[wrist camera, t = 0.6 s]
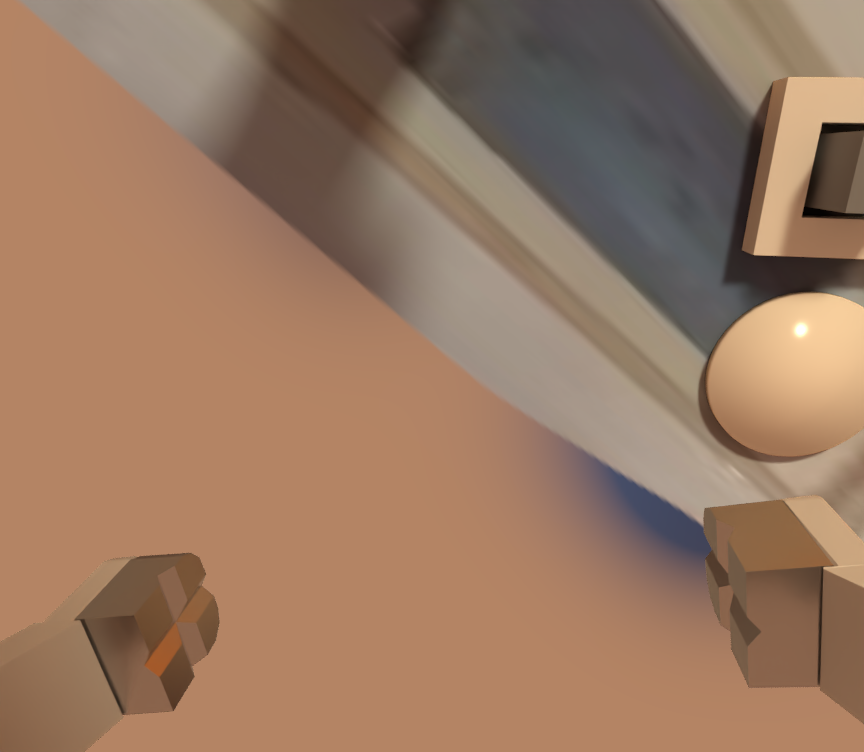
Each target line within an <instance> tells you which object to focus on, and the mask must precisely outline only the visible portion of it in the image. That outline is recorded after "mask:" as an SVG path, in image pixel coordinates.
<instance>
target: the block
mask: <svg viewBox="0 0 864 752" xmlns="http://www.w3.org/2000/svg"><path fill="white" fill-rule="evenodd" d="M804 206H805V207H811V208H817V209H824V210H830V211H836V212H842V213H860V214H864V131H854V132H841V133H828V134H820V135H819V140H818V144H817V149H816V153H815V158H814V162H813V167H812V172H811V176H810V181H809V185H808V190H807V195H806V199H805V204H804Z"/></svg>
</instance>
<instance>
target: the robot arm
mask: <svg viewBox="0 0 864 752" xmlns="http://www.w3.org/2000/svg"><path fill="white" fill-rule="evenodd" d="M703 519H704V534H705V536H706V538H707V540H708V542H709V544H710V546H711V548H712V551H711V552H710V553H709V555H708V556H707V557H706V559H705V562H706V575H707V582H708V588H709V593H710V598H711V601H712V604H713V607H714V611H715V613H716V615H717V618H718V620H719V623H720V625H721V626H723V627H724V628H726V629H727V630H729V631H730V632H731V650H732V652H733V654H734V656H735V658H736V660H737V663H738V665H739V667H740V669H741V671H742V674H743V675H744V678H745V680H746V682H747V685H748V687H749V688H766V687H820V690H821V691H822V692H823V693H825V694H826V695H827V696H829V697H830V698H831V699H832V700H834V701H835V702H836V703H838V704H839V705H840V706H841V707H843V708H844V709H845V710H846V711H848V712H849V713H850V714H852V715H853V716H854V717H855V718H857V719H858V720H859V721H861V722H862V723H863V724H864V542H863V541H862V540H861V539H860V538H859V537H858V536H857V535H856V534H855V533H854V531H853V530H852V529H851V528H850V527H849V526H848V525H847V524H846V523H845V522H844V521H843V520H842V518H841V517H840V516H839V515H838V514H837V513H836V512H835V511H834V510H833V509H832V508H831V507H830V506H829V504H828V503H827V502H826V501H825V500H824V499H823V498H822V497H819V496H817V495H811V496H803V497H795V498H787V499H779V500H773V501H764V502H755V503H746V504H737V505H728V506H719V507H710V508H705V510H704V518H703ZM205 575H206V573H205V570H204V568H203V565H202V563H201V560H200V558H199V557H198V556H196V555H194V554H192V553H182V554H167V555H152V556H140V557H135V556H134V557H126V558H125V557H124V558H116V559H111V560H108V561H105V562H103V563H102V564H101V565H100V566H99V567H98V568H97V569H96V570H95V571H94V572H93V573H92V574H91V575H90V577H88V578H87V579H86V580H85V581H84V582H83V583H82V584H81V585H80V586H79V587H78V588H77V589H76V590H75V591H74V592H73V593H72V594H71V595H70V596H69V597H68V598H67V599H66V600H65V601H64V602H63V603H62V604H61V605H60V606H59V607H58V608H57V609H56V610H55V611H54V612H53V613H52V614H51V615H50V616H49V617H48V618H47V619H46V620H45V621H44V622H43V623H34V624H32V625H30V626H29V627H27V628H25V629H23V630H21V631H19V632H17V633H16V634H14V635H12V636H10V637H8V638H6V639H5V640H3V641H1V642H0V752H85V751H86V750H87V749H88V748H89V747H91V746H92V745H93V744H94V743H95V742H96V741H97V740H99V739H100V738H101V737H102V736H103V735H104V734H105V733H107V732H108V731H109V730H110V729H111V728H112V727H113V726H114V725H116V724H117V723H118V722H119V721H120V720H121V719H122V718H123V715H129V714H143V713H157V712H169V711H174V709H175V708H176V706H177V704H178V703H179V701H180V699H181V698H182V696H183V695H184V693H185V691H186V690H187V688H188V686H189V685H190V683H191V681H192V680H193V678H194V672H193V667H192V666H193V665H194V664H196V663H197V662H198V661H200V660H201V659H202V658H204V657H205V656H206V655H208V653H209V651H210V650H211V648H212V646H213V644H214V643H215V641H216V637H217V632H218V627H219V613H218V607H217V604H216V601H215V598H214V596H213V595H212V594H211V593H210V592H209V591H208V590H206V589H205V588H204V587H203V586H202V583H203V581H204V578H205Z"/></svg>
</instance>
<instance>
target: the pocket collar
mask: <svg viewBox="0 0 864 752" xmlns="http://www.w3.org/2000/svg"><path fill="white" fill-rule="evenodd" d="M822 124H833V125H864V78H843V77H787V78H783V79H780V80H776V81H773V87H772V92H771V97H770V103H769V108H768V113H767V119H766V124H765V129H764V134H763V140H762V145H761V150H760V156H759V161H758V166H757V171H756V177H755V182H754V187H753V193H752V198H751V203H750V209H749V214H748V219H747V224H746V230H745V235H744V240H743V246H742V251H745V252H747V253H750V254H752V255H765V256H792V257H819V258H846V259H864V217H849V216H816V215H802V213H803V208H804V204H805V199H806V195H807V190H808V185H809V181H810V176H811V172H812V167H813V162H814V158H815V153H816V149H817V144H818V140H819V135H820V130H821V126H822Z"/></svg>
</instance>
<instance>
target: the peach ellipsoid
mask: <svg viewBox="0 0 864 752" xmlns="http://www.w3.org/2000/svg"><path fill="white" fill-rule="evenodd" d="M705 385H706V395H707V400H708V403H709V406H710V408H711V411H712V412H713V414H714V416H715V418H716V419H717V421H718V422H719V423H720V425H721V426H722V427H723V428H724V430H725V431H726V432H727V433H728V434H729V435H730V436H731V437H732V438H734V439H735V440H736V441H738V442H739V443H740V444H742V445H744V446H746V447H748V448H750V449H752V450H755V451H757V452H760V453H764V454H768V455H774V456H787V457H794V456H804V455H809V454H814V453H818V452H821V451H824V450H827V449H830V448H832V447H834V446H837V445H839V444H841V443H842V442H844V441H846V440H848V439H849V438H851V437H852V436H854V435H855V434H856V433H858V432H859V431H860V430H861V429H863V428H864V307H862V306H860V305H858V304H856V303H855V302H852V301H850V300H847V299H845V298H842V297H840V296H837V295H833V294H829V293H823V292H796V293H789V294H785V295H781V296H777V297H775V298H772V299H769V300H767V301H764V302H762V303H760V304H758V305H756V306H755V307H753V308H751V309H750V310H748V311H747V312H745V313H744V314H742V315H741V316H740V317H739V318H738V319H737V320H735V321H734V322H733V323H732V324H731V325H730V326H729V327H728V328H727V330H726V331H725V332H724V333H723V335H722V336H721V337H720V339H719V340H718V342H717V344H716V346H715V347H714V349H713V351H712V354H711V356H710V359H709V362H708V366H707V370H706V379H705Z"/></svg>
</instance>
